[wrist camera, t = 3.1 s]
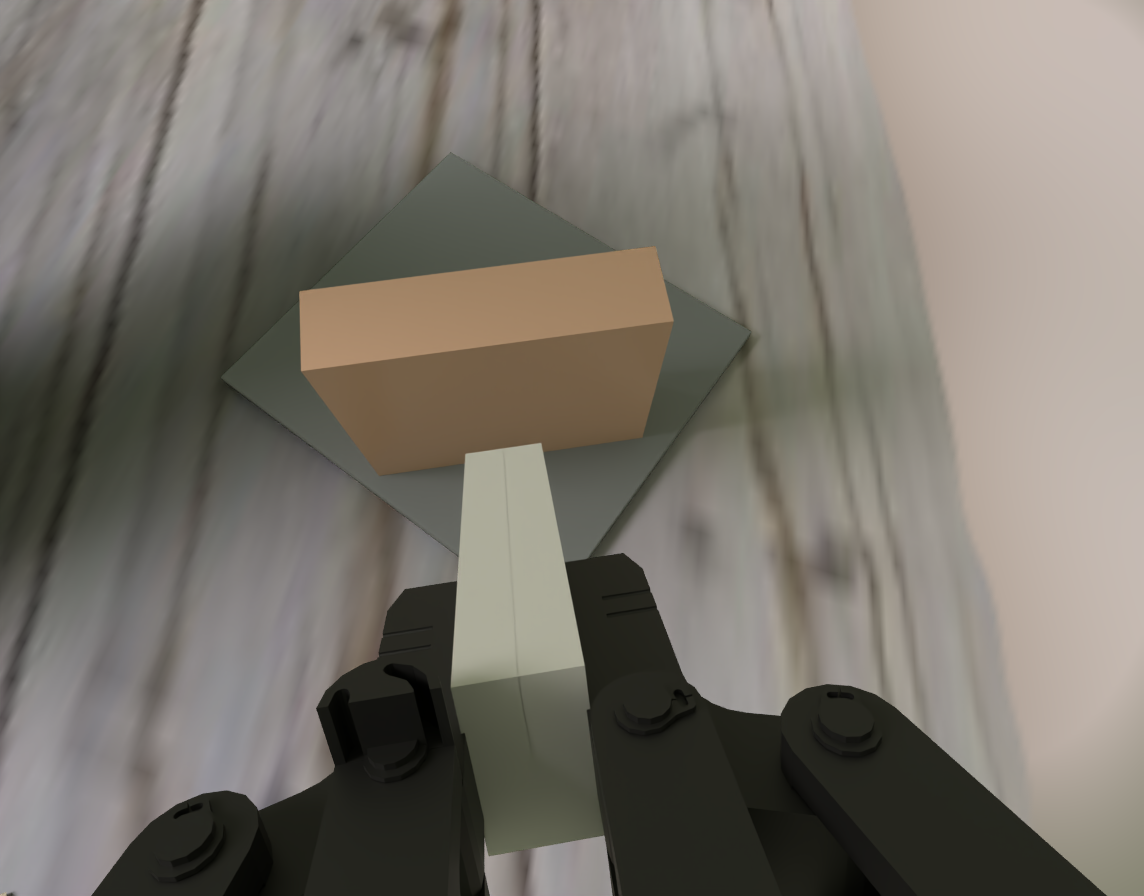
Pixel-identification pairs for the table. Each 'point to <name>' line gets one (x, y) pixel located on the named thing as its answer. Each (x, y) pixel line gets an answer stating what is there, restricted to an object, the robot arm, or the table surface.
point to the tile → (490, 357)
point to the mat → (470, 241)
